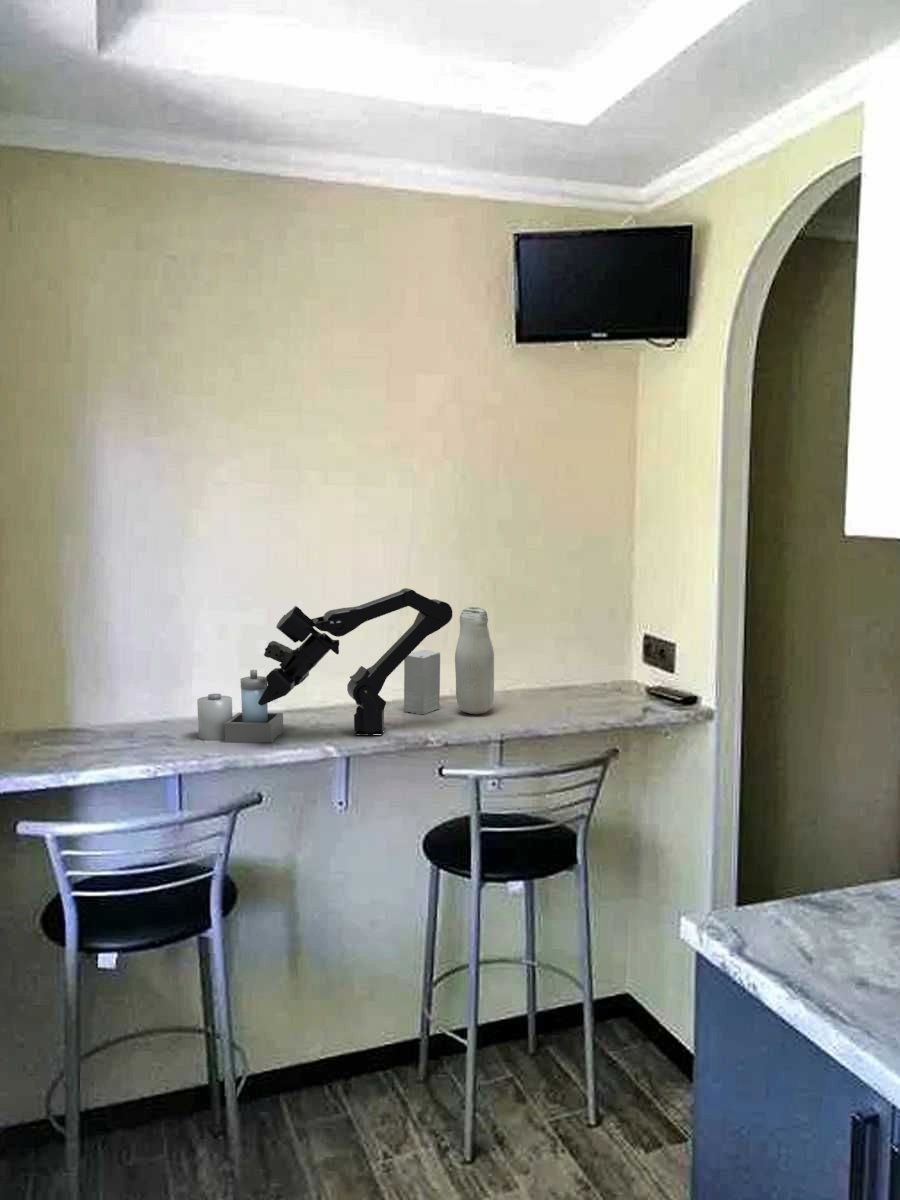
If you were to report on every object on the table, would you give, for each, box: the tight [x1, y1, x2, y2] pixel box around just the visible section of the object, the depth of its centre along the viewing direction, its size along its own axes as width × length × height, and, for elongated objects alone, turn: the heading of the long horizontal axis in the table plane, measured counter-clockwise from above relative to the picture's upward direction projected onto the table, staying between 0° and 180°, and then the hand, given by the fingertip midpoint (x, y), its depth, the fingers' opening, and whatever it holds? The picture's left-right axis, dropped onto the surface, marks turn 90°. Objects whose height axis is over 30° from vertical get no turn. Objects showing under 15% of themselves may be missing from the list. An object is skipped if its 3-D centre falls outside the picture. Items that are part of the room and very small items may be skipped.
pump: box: [240, 669, 269, 723], centre depth 225 cm, size 6×6×15 cm
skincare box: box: [403, 649, 441, 715], centre depth 251 cm, size 8×7×16 cm
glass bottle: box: [454, 606, 495, 715], centre depth 247 cm, size 10×10×28 cm
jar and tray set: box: [197, 693, 284, 743], centre depth 226 cm, size 19×11×10 cm, turn 85°
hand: (265, 700), depth 225 cm, fingers open, 9 cm apart
